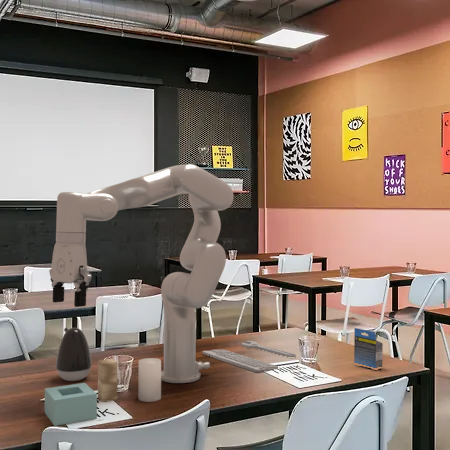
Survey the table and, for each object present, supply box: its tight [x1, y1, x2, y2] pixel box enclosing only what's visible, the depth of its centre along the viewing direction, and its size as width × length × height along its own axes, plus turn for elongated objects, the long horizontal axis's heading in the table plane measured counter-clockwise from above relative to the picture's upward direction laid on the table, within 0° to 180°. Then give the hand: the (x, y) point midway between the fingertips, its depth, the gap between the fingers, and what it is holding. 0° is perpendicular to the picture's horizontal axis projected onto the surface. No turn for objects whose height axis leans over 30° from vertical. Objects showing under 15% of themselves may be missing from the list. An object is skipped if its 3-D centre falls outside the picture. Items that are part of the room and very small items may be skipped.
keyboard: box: [202, 348, 279, 374], centre depth 192 cm, size 29×10×2 cm, turn 39°
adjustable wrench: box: [240, 340, 297, 358], centre depth 205 cm, size 25×6×2 cm, turn 38°
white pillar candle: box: [137, 357, 162, 403], centre depth 153 cm, size 6×6×10 cm
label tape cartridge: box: [353, 327, 384, 368], centre depth 186 cm, size 9×4×12 cm, turn 37°
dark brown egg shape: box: [55, 327, 93, 382], centre depth 170 cm, size 10×10×15 cm
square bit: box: [97, 358, 118, 403], centre depth 152 cm, size 4×4×10 cm
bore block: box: [44, 382, 98, 427], centre depth 139 cm, size 10×10×6 cm
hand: (68, 304), depth 151 cm, fingers open, 9 cm apart
